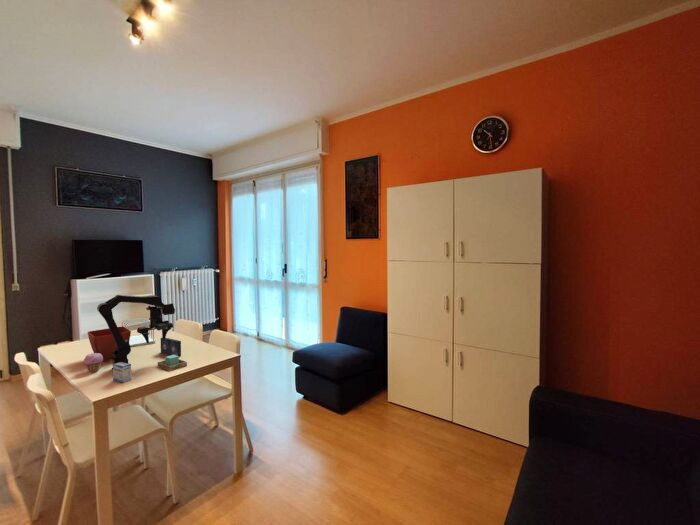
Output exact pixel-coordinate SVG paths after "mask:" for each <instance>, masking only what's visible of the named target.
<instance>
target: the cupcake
mask: <svg viewBox="0 0 700 525" xmlns="http://www.w3.org/2000/svg"><path fill="white" fill-rule="evenodd" d="M102 361H103V356H102V355H101V354H100V353H94V352H92V353H88V354H87V355H86V356H85V358H84V359H83V364H84V365H86V368H87V371H88V373H95V372H98V371H99V370H100V369H101V363H102ZM103 362H104V361H103Z"/></svg>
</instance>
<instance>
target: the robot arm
mask: <svg viewBox="0 0 700 525" xmlns="http://www.w3.org/2000/svg"><path fill="white" fill-rule="evenodd" d="M121 303H133V304H134V303H135V304H146V305H148V306H147V307H146V308H145V310H146V311H149V318H148V321H149V322H150V325H149V324H148V326H139V327H137V329H136V333H139V334H140V335H143V336H144V338H145V340H146V342H147V343H148V344H147V345H150V344H149V336H148V335H149V330H150V331H151V330H152V331H153V330H154V331H155V330H157V331H161V335H162V336H161V338H163V340H165V338H167V337H166V336H167V334H168V332H169V331H170V330H171V329H172V328H174V324H173V323H172V322H170V321H169V320H168V319H167V320H163V317H161V316H162V315H163V316H169V315H175V313H176V310H175V305H174V303H173V302H172V303H166V304H164V303H163V302H162V298H161V297H160V296H158V295H154V294H153V295H146V296H145V295H143V296H139V295H138V296H136V295H122V294H116V295H115V296H114V297H111V298H110V299H108V300H107V301H104V302H101V303H99V304H98V305H97V306H96V310H97V312H98V313H99V314H100V316H101V317H102V318H103V319H104V321H105V323H106V325H107V326H108V328H109V329H110V331H111V333H112V335H113V337H114V339H115V342H116V348H117V350H116V351H115V352H114V353H113V356H114V357H115V358H113V359H112V365H113V364H116V363H119V362H123V363H128V364H129V358H128V355H129V354H130V353H131V352H132V347H131V346H130V344H129V341H128V340H127V339H126V340H124V339H123V337H122V335H121V333H120V331H119V329H118V327H119V326H118V325H117V323H116V321H115V319H114V318H115V317H114V315H113V309H114V308H115V307H117V306H118V305H119V304H121ZM111 370H113V367H111Z"/></svg>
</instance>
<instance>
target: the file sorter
mask: <svg viewBox="0 0 700 525" xmlns="http://www.w3.org/2000/svg"><path fill="white" fill-rule="evenodd" d="M141 325H148V326H149V325H150V320H149V319H146V318H144V317H138V318H134V319H133V318H131V319H125V320H123V321H122V322H121V327H122V326H123V327H125V328H127V329H128V330H130V327H134V326H141ZM148 333H149V335H148V336H149V344H148V343H147V342H146V340H145V338H144V336H143V335H142V334H140V335H133V336H130V340H129V344H130V346H131V348H133V346H135V347H139V345H140V346H145V344H146V345H151V343H152V344H155V343H156V340H155V329H154V330H149V331H148Z"/></svg>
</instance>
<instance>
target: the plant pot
mask: <svg viewBox="0 0 700 525" xmlns="http://www.w3.org/2000/svg"><path fill="white" fill-rule="evenodd" d="M123 326H124V325H123ZM123 326H122V325H121V326H117V327H118V329H119V331H120V333H121V335H122V337H123V339H124V340H126V339H127V340H128V341H129V340H130V337H131V333H132V331H131V330H130V329H129V330H128V327H127V328H125V326H124V327H123ZM87 336H88V340H89V344H90V346H91V350H92V351H93V352H92V353H100V354H101V355H102V356H103V361H102V362H107V361H111V360H112V361H113V358H115V357H114V356H113V353H114V352H115V351H116V350H117V348H116V342H115V339H114V337H113V335H112V333H111V331H110V329H109V327H108V328H103V329H96V330H90V331H87ZM102 362H101V363H102Z"/></svg>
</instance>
